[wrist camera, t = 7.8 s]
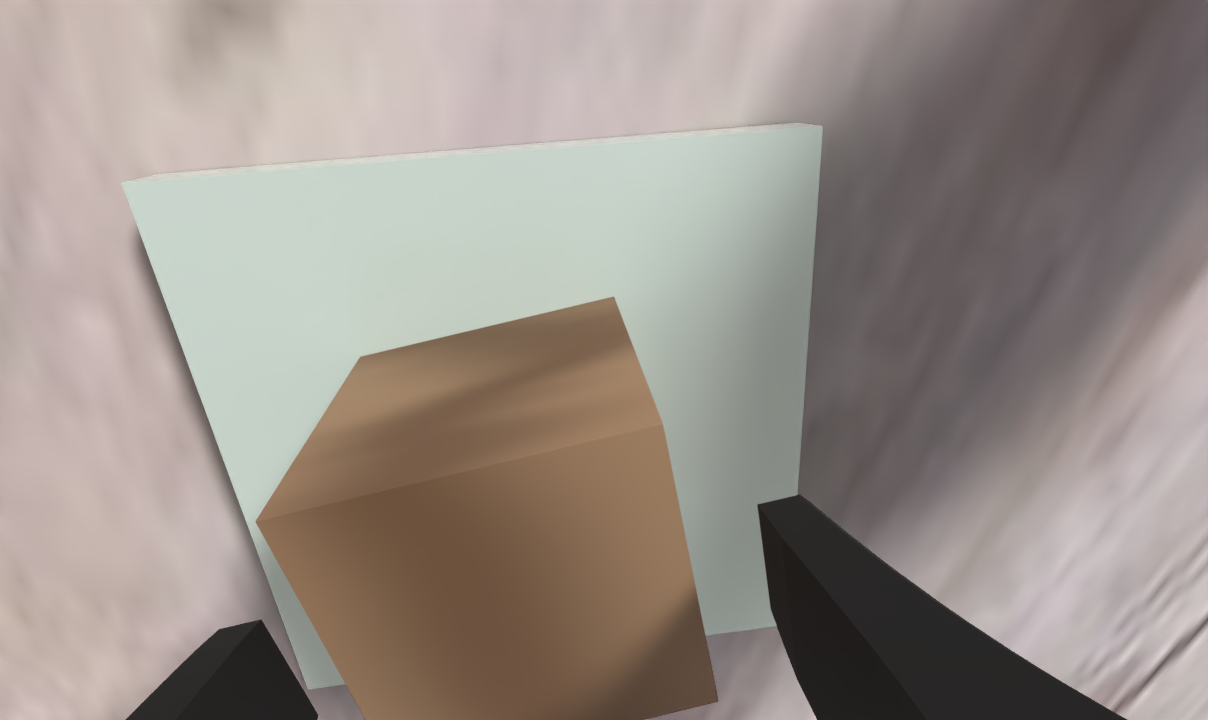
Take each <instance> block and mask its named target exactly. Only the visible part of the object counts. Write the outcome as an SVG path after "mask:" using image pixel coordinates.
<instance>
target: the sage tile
mask: <svg viewBox="0 0 1208 720" xmlns="http://www.w3.org/2000/svg"><path fill="white" fill-rule="evenodd" d="M822 134H823V126H819V125H812V124H805V123H785V124H772V125H760V126H747V127H735V128H722V129H710V130H697V131H685V132H672V133H660V134H647V135H635V136H622V137H610V138H597V139H585V140H572V141H560V142H547V143H535V144H522V145H510V146H497V147H485V148H472V149H460V150H447V151H435V152H422V153H410V154H397V155H385V156H372V157H360V158H347V159H335V160H322V161H310V162H297V163H285V164H273V165H260V166H248V167H235V168H223V169H210V170H198V171H185V172H173V173H160V174H156V175H152V176H147V177H143V178H139V179H135V180H131V181H126V182H122V183H121V184H122V186H123V189H124V192H125V195H126V197H127V200H128V203H129V205H130V208H131V211H132V214H133V216H134V219H135V222H136V224H137V227H138V230H139V233H140V235H141V238H142V241H143V243H144V246H145V249H146V252H147V254H148V257H149V260H150V262H151V265H152V268H153V271H154V273H155V276H156V279H157V281H158V284H159V287H160V290H161V292H162V295H163V298H164V300H165V303H166V306H167V309H168V311H169V314H170V317H171V319H172V322H173V325H174V328H175V330H176V333H177V336H178V338H179V341H180V344H181V347H182V349H183V352H184V355H185V357H186V360H187V363H188V366H189V368H190V371H191V374H192V376H193V379H194V382H195V385H196V387H197V390H198V393H199V395H200V398H201V401H202V404H203V406H204V409H205V412H206V414H207V417H208V420H209V423H210V425H211V428H212V431H213V433H214V436H215V439H216V442H217V444H218V447H219V450H220V452H221V455H222V458H223V461H224V463H225V466H226V469H227V471H228V474H229V477H230V480H231V482H232V485H233V488H234V490H235V493H236V496H237V499H238V501H239V504H240V507H241V509H242V512H243V515H244V518H245V520H246V523H247V526H248V528H249V531H250V534H251V537H252V539H253V542H254V545H255V547H256V550H257V553H258V556H259V558H260V561H261V564H262V566H263V569H264V572H265V575H266V577H267V580H268V583H269V585H270V588H271V591H272V594H273V596H274V599H275V602H276V604H277V607H278V610H279V613H280V615H281V618H282V621H283V623H284V626H285V629H286V632H287V634H288V637H289V640H290V642H291V645H292V648H293V651H294V653H295V656H296V659H297V661H298V664H299V667H300V670H301V672H302V675H303V678H304V680H305V683H306V686H307V689H308V690H309V689H316V688H324V687H331V686H339V685H346V684H345V682H344V680H343V679H342V677H341V675H340V673H339V671H338V670H337V668H336V666H335V664H334V662H333V661H332V659H331V657H330V655H329V653H328V652H327V650H326V648H325V646H324V644H323V643H322V641H321V639H320V637H319V636H318V634H317V632H316V630H315V628H314V627H313V625H312V623H311V621H310V619H309V618H308V616H307V614H306V612H305V610H304V609H303V607H302V605H301V603H300V601H299V600H298V598H297V596H296V594H295V592H294V591H293V589H292V587H291V585H290V583H289V582H288V580H287V578H286V576H285V574H284V573H283V571H282V569H281V567H280V565H279V564H278V562H277V560H276V558H275V556H274V555H273V553H272V551H271V549H270V547H269V546H268V544H267V542H266V540H265V538H264V537H263V535H262V533H261V531H260V529H259V528H258V526H257V524H256V522H255V521H256V519H257V518H258V516H259V515H260V513H261V512H262V510H263V508H264V507H265V505H266V504H267V502H268V501H269V499H270V497H271V496H272V494H273V493H274V491H275V490H276V488H277V486H278V485H279V483H280V482H281V480H282V479H283V477H284V475H285V474H286V472H287V471H288V469H289V468H290V466H291V464H292V463H293V461H294V460H295V458H296V457H297V455H298V453H299V452H300V450H301V449H302V447H303V446H304V444H305V442H306V441H307V439H308V438H309V436H310V435H311V433H312V431H313V430H314V428H315V427H316V425H317V424H318V422H319V420H320V419H321V417H322V416H323V414H324V413H325V411H326V409H327V408H328V406H329V405H330V403H331V402H332V400H333V399H334V397H335V395H336V394H337V392H338V391H339V389H340V388H341V386H342V384H343V383H344V381H345V380H346V378H347V377H348V375H349V373H350V372H351V370H352V369H353V367H354V366H355V364H356V362H357V361H358V359H359V358H360V357H361V356H365V355H370V354H374V353H378V352H382V351H386V350H391V349H395V348H399V347H403V346H408V345H412V344H416V343H420V342H424V341H429V340H433V339H437V338H441V337H445V336H450V335H454V334H458V333H462V332H466V331H471V330H475V329H479V328H483V327H488V326H492V325H496V324H500V323H504V322H509V321H513V320H517V319H521V318H525V317H530V316H534V315H538V314H542V313H546V312H551V311H555V310H559V309H563V308H568V307H572V306H576V305H580V304H584V303H589V302H593V301H597V300H601V299H605V298H610V297H614V298H615V300H616V303H617V306H618V308H619V311H620V313H621V316H622V319H623V321H624V324H625V326H626V329H627V332H628V334H629V337H630V339H631V342H632V345H633V347H634V350H635V352H636V355H637V358H638V360H639V363H640V365H641V368H642V371H643V373H644V376H645V378H646V381H647V384H648V386H649V389H650V391H651V394H652V397H653V399H654V402H655V404H656V407H657V410H658V412H659V415H660V417H661V420H662V423H663V426H664V431H665V436H666V441H667V446H668V451H669V456H670V461H671V466H672V471H673V476H674V481H675V486H676V491H677V496H678V501H679V506H680V511H681V516H682V521H683V526H684V531H685V536H686V541H687V546H688V551H689V556H690V561H691V566H692V571H693V576H694V581H695V586H696V591H697V596H698V601H699V606H700V611H701V616H702V621H703V626H704V631H705V636H708V635H716V634H723V633H731V632H738V631H745V630H753V629H760V628H768V627H775V626H777V625H776V622H775V620H774V617H773V614H772V611H771V608H770V600H769V592H768V584H767V577H766V569H765V561H764V553H763V545H762V538H761V530H760V522H759V514H758V506H757V504H761V503H766V502H770V501H774V500H779V499H783V498H787V497H791V496H796V495H798V481H799V466H800V452H801V438H802V423H803V409H804V394H805V380H806V365H807V351H808V336H809V322H810V308H811V293H812V279H813V264H814V250H815V235H816V221H817V207H818V192H819V178H820V163H821V149H822Z"/></svg>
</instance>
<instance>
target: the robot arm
mask: <svg viewBox="0 0 1208 720" xmlns="http://www.w3.org/2000/svg"><path fill="white" fill-rule="evenodd" d="M757 506H758V514H759V522H760V530H761V538H762V545H763V553H764V561H765V569H766V577H767V584H768V592H769V600H770V608H771V611H772V614H773V617H774V620H775V622H776V625H777V628H778V630H779V633H780V636H781V638H782V641H783V644H784V646H785V649H786V652H787V654H788V657H789V659H790V662H791V664H792V667H793V670H794V672H795V675H796V677H797V680H798V682H799V684H800V686H801V688H802V690H803V692H804V694H805V696H806V698H807V700H808V702H809V704H810V706H811V708H812V710H813V712H814V714H815V716H816V718H817V720H1127V719H1125V718H1123V717H1121V716H1120V715H1118V714H1116V713H1114V712H1113V711H1111V710H1109V709H1107V708H1106V707H1104V706H1102V705H1101V704H1099V703H1097V702H1095V701H1094V700H1092V699H1090V698H1089V697H1087V696H1085V695H1083V694H1082V693H1080V692H1078V691H1077V690H1075V689H1073V688H1071V687H1070V686H1068V685H1066V684H1065V683H1063V682H1061V681H1060V680H1058V679H1056V678H1055V677H1053V676H1051V675H1050V674H1048V673H1046V672H1045V671H1043V670H1042V669H1040V668H1038V667H1037V666H1035V665H1033V664H1032V663H1030V662H1029V661H1027V660H1026V659H1024V658H1022V657H1021V656H1019V655H1018V654H1016V653H1014V652H1013V651H1011V650H1010V649H1008V648H1007V647H1005V646H1004V645H1002V644H1001V643H999V642H998V641H996V640H995V639H993V638H992V637H990V636H988V635H987V634H985V633H984V632H982V631H981V630H979V629H978V628H976V627H975V626H973V625H972V624H970V623H969V622H967V621H966V620H964V619H963V618H961V617H960V616H959V615H957V614H956V613H954V612H953V611H951V610H950V609H949V608H947V607H946V606H944V605H943V604H941V603H940V602H938V601H937V600H936V599H934V598H933V597H932V596H930V595H929V594H927V593H926V592H925V591H923V590H922V589H921V588H919V587H918V586H916V585H915V584H914V583H912V582H911V581H910V580H908V579H907V578H906V577H904V576H903V575H901V574H900V573H899V572H897V571H896V570H895V569H893V568H892V567H891V566H889V565H888V564H887V563H885V562H884V561H883V560H881V559H880V558H879V557H877V556H876V555H875V554H874V553H872V552H871V551H870V550H868V549H867V548H866V547H865V546H863V545H862V544H861V543H860V542H858V541H857V540H856V539H854V538H853V537H852V536H851V535H849V534H848V533H847V532H846V531H844V530H843V529H842V528H841V527H840V526H838V525H837V524H836V523H835V522H833V521H832V520H831V519H830V518H829V517H827V516H826V515H825V514H824V513H822V512H821V511H820V510H819V509H818V508H816V507H815V506H814V505H813V504H812V503H810V502H809V501H808V500H807V499H805V498H804V497H802V496H800V495H796V496H791V497H787V498H783V499H779V500H774V501H770V502H766V503H761V504H757ZM317 718H318V714H317V712H316V711H315V709H314V707H313V706H312V704H311V702H310V700H309V699H308V697H307V695H306V694H305V692H304V690H303V689H302V687H301V685H300V684H299V682H298V680H297V679H296V677H295V675H294V674H293V672H292V670H291V669H290V667H289V665H288V664H287V662H286V660H285V659H284V657H283V655H282V654H281V652H280V650H279V648H278V647H277V645H276V643H275V642H274V640H273V638H272V637H271V635H270V633H269V632H268V630H267V628H266V627H265V625H264V623H263V622H262V620H257V621H253V622H249V623H244V624H240V625H236V626H231V627H227V628H223V629H219V630H218V631H217V632H216V633H215V634H214V635H212V636H211V637H210V638H209V639H208V640H207V641H206V642H205V643H203V644H202V645H201V646H200V647H199V648H198V649H197V650H196V651H195V652H194V653H193V654H192V655H191V656H190V657H189V658H187V659H186V660H185V661H184V662H183V663H182V664H181V665H180V666H179V667H178V668H177V669H176V670H175V671H174V672H173V673H172V674H171V675H170V676H169V677H168V678H167V679H166V680H165V681H164V682H163V683H162V684H161V685H160V686H159V687H158V688H157V689H156V690H155V691H154V692H153V693H152V694H151V695H150V696H149V697H148V698H147V699H146V700H145V701H144V702H143V703H142V704H141V705H140V706H139V707H138V708H137V709H136V710H135V711H134V712H133V713H132V714H131V715H130V716H129V717H128V718H127V719H126V720H317Z"/></svg>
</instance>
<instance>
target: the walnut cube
mask: <svg viewBox="0 0 1208 720" xmlns="http://www.w3.org/2000/svg"><path fill="white" fill-rule="evenodd" d="M255 522H256V524H257V526H258V528H259V529H260V531H261V533H262V535H263V537H264V538H265V540H266V542H267V544H268V546H269V547H270V549H271V551H272V553H273V555H274V556H275V558H276V560H277V562H278V564H279V565H280V567H281V569H282V571H283V573H284V574H285V576H286V578H287V580H288V582H289V583H290V585H291V587H292V589H293V591H294V592H295V594H296V596H297V598H298V600H299V601H300V603H301V605H302V607H303V609H304V610H305V612H306V614H307V616H308V618H309V619H310V621H311V623H312V625H313V627H314V628H315V630H316V632H317V634H318V636H319V637H320V639H321V641H322V643H323V644H324V646H325V648H326V650H327V652H328V653H329V655H330V657H331V659H332V661H333V662H334V664H335V666H336V668H337V670H338V671H339V673H340V675H341V677H342V679H343V680H344V682H345V684H346V686H347V688H348V689H349V691H350V693H351V695H352V697H353V698H354V700H355V702H356V704H357V706H358V707H359V709H360V711H361V713H362V715H363V716H364V718H365V720H644V719H649V718H653V717H657V716H661V715H665V714H669V713H673V712H677V711H681V710H686V709H690V708H694V707H698V706H702V705H706V704H710V703H714V702H718V696H717V691H716V686H715V681H714V676H713V671H712V666H711V661H710V656H709V651H708V646H707V641H706V636H705V631H704V626H703V621H702V616H701V611H700V606H699V601H698V596H697V591H696V586H695V581H694V576H693V571H692V566H691V561H690V556H689V551H688V546H687V541H686V536H685V531H684V526H683V521H682V516H681V511H680V506H679V501H678V496H677V491H676V486H675V481H674V476H673V471H672V466H671V461H670V456H669V451H668V446H667V441H666V436H665V431H664V426H663V423H662V420H661V417H660V415H659V412H658V410H657V407H656V404H655V402H654V399H653V397H652V394H651V391H650V389H649V386H648V384H647V381H646V378H645V376H644V373H643V371H642V368H641V365H640V363H639V360H638V358H637V355H636V352H635V350H634V347H633V345H632V342H631V339H630V337H629V334H628V332H627V329H626V326H625V324H624V321H623V319H622V316H621V313H620V311H619V308H618V306H617V303H616V300H615V298H614V297H610V298H605V299H601V300H597V301H593V302H589V303H584V304H580V305H576V306H572V307H568V308H563V309H559V310H555V311H551V312H546V313H542V314H538V315H534V316H530V317H525V318H521V319H517V320H513V321H509V322H504V323H500V324H496V325H492V326H488V327H483V328H479V329H475V330H471V331H466V332H462V333H458V334H454V335H450V336H445V337H441V338H437V339H433V340H429V341H424V342H420V343H416V344H412V345H408V346H403V347H399V348H395V349H391V350H386V351H382V352H378V353H374V354H370V355H365V356H361V357H360V358H359V359H358V361H357V362H356V364H355V366H354V367H353V369H352V370H351V372H350V373H349V375H348V377H347V378H346V380H345V381H344V383H343V384H342V386H341V388H340V389H339V391H338V392H337V394H336V395H335V397H334V399H333V400H332V402H331V403H330V405H329V406H328V408H327V409H326V411H325V413H324V414H323V416H322V417H321V419H320V420H319V422H318V424H317V425H316V427H315V428H314V430H313V431H312V433H311V435H310V436H309V438H308V439H307V441H306V442H305V444H304V446H303V447H302V449H301V450H300V452H299V453H298V455H297V457H296V458H295V460H294V461H293V463H292V464H291V466H290V468H289V469H288V471H287V472H286V474H285V475H284V477H283V479H282V480H281V482H280V483H279V485H278V486H277V488H276V490H275V491H274V493H273V494H272V496H271V497H270V499H269V501H268V502H267V504H266V505H265V507H264V508H263V510H262V512H261V513H260V515H259V516H258V518H257V519H256V521H255Z"/></svg>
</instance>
